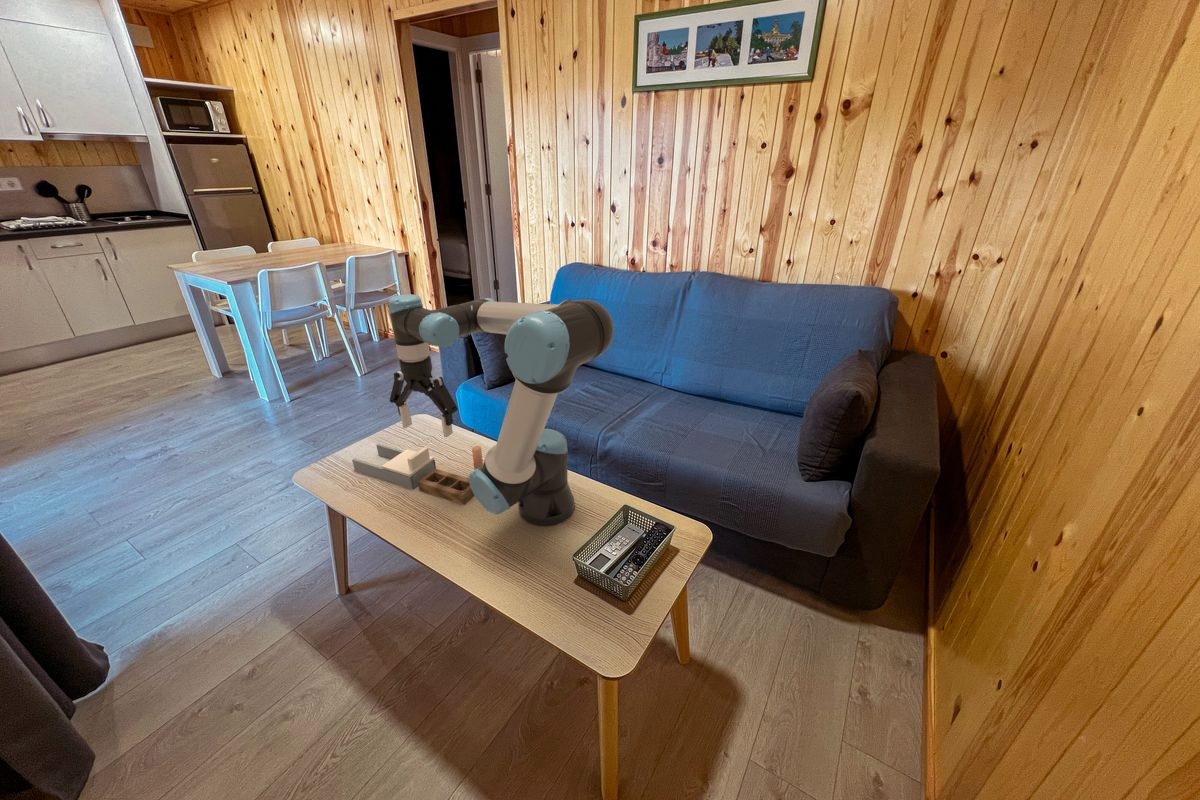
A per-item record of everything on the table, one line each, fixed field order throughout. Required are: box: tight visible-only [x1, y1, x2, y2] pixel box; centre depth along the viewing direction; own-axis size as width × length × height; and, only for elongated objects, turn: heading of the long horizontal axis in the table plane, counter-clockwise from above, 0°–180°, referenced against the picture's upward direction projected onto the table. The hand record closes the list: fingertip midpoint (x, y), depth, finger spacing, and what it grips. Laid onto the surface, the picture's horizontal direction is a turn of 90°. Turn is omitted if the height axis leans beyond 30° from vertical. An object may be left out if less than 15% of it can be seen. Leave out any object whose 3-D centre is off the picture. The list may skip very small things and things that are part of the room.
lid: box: [381, 446, 435, 477], centre depth 135 cm, size 10×10×5 cm
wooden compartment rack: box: [417, 468, 474, 505], centre depth 132 cm, size 15×7×3 cm, turn 67°
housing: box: [351, 443, 437, 490], centre depth 140 cm, size 22×10×4 cm, turn 67°
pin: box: [471, 445, 484, 471], centre depth 136 cm, size 3×3×10 cm
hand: (427, 430), depth 126 cm, fingers open, 13 cm apart
